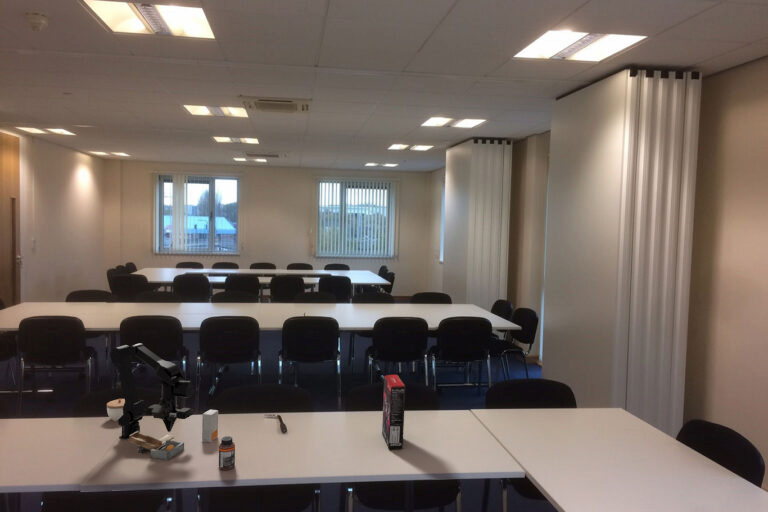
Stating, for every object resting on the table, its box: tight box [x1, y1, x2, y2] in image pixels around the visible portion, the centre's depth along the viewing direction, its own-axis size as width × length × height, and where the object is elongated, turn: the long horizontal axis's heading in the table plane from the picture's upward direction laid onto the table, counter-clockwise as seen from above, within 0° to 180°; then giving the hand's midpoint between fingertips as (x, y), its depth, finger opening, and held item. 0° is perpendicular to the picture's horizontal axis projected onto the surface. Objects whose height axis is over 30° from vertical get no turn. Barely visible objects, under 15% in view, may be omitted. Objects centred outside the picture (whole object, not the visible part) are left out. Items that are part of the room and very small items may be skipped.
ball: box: [166, 445, 174, 451], centre depth 205 cm, size 3×3×3 cm
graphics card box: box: [381, 374, 406, 450], centre depth 222 cm, size 17×7×27 cm, turn 10°
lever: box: [127, 431, 175, 451], centre depth 212 cm, size 12×13×2 cm
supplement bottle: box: [218, 435, 236, 471], centre depth 195 cm, size 6×6×11 cm
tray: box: [150, 440, 185, 461], centre depth 205 cm, size 8×10×3 cm
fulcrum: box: [137, 446, 149, 455], centre depth 208 cm, size 2×6×2 cm, turn 167°
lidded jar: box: [106, 398, 125, 422], centre depth 241 cm, size 11×11×9 cm
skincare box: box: [201, 409, 219, 443], centre depth 220 cm, size 6×4×12 cm
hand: (169, 431), depth 215 cm, fingers closed
